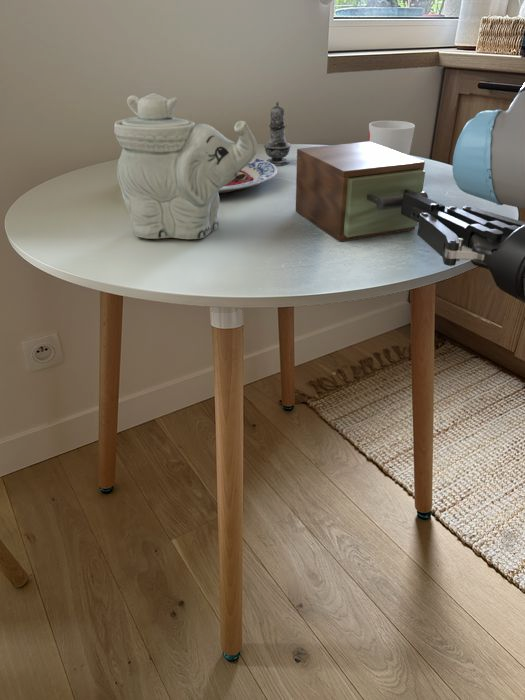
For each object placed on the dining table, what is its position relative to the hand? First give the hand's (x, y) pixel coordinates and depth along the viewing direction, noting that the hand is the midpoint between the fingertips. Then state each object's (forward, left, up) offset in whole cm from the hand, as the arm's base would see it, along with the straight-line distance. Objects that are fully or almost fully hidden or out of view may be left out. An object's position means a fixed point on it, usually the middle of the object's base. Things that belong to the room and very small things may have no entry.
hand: (407, 202), depth 71 cm
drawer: (+6, -7, -5) cm, 11 cm away
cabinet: (+8, -10, -6) cm, 15 cm away
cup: (+6, -34, -7) cm, 35 cm away
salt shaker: (+30, -42, -7) cm, 52 cm away
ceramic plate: (+38, -24, -7) cm, 46 cm away
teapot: (+30, +2, -7) cm, 31 cm away
